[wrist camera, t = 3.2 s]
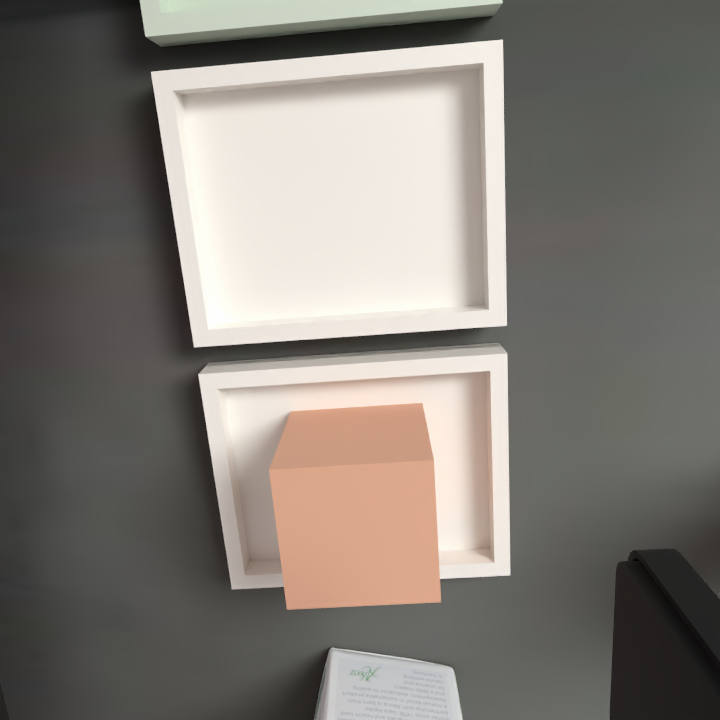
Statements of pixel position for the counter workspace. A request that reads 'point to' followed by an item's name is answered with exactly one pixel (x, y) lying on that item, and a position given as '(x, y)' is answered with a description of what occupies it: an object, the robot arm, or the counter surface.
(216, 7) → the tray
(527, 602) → the counter surface
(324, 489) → the light orange cube
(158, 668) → the counter surface
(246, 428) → the tray
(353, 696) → the syrup box
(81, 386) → the counter surface
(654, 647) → the robot arm
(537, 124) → the counter surface
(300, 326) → the tray
